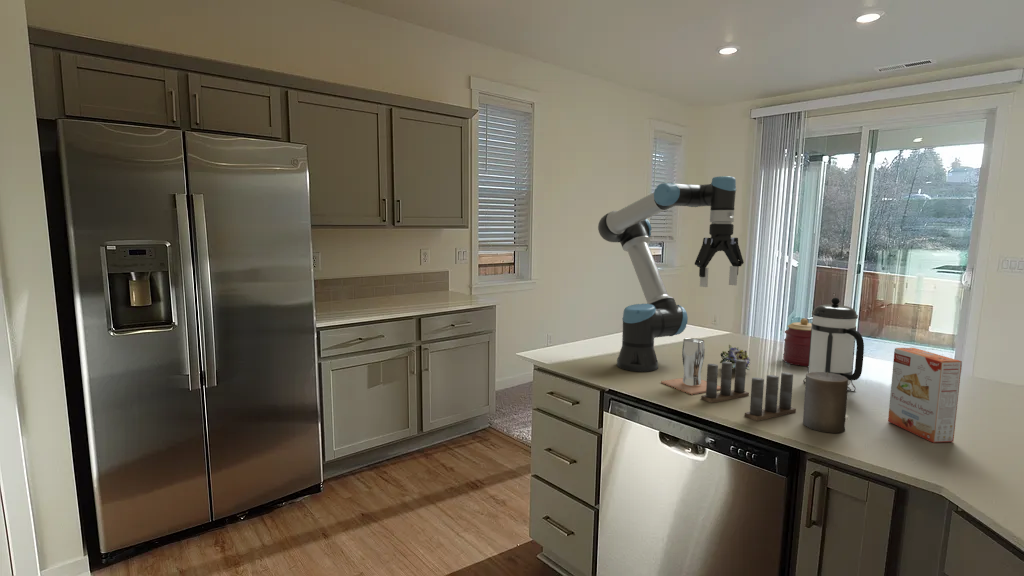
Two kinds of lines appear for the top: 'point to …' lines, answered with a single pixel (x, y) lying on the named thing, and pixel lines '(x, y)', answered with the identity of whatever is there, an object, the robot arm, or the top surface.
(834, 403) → the pillar candle
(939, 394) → the cracker box
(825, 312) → the coffee press
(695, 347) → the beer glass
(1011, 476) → the top surface
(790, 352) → the canister
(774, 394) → the rack
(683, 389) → the tile pad
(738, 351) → the passion flower
